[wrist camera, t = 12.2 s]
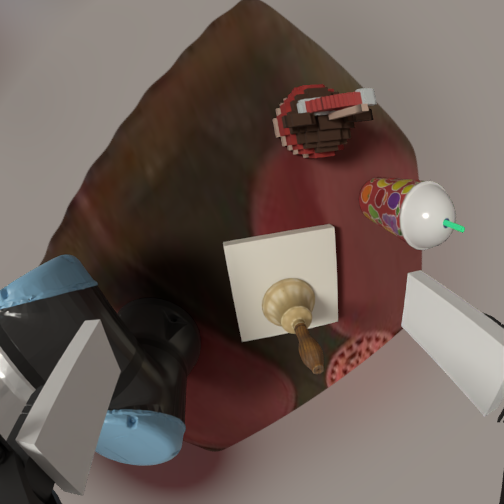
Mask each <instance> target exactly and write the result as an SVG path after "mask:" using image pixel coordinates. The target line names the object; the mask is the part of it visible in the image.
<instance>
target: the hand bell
mask: <svg viewBox="0 0 504 504" xmlns="http://www.w3.org/2000/svg"><path fill="white" fill-rule="evenodd" d="M314 305H315V294H314V291H313V289H312V288H311V286H310V285H309V284H308V283H306V282H305V281H303V280H300V279H296V278H288V279H283V280H280V281H278V282H276V283H275V284H273V285H272V286H271V287H270V288H269V289H268V290H267V291H266V293H265V295H264V297H263V300H262V311H263V314H264V316H265V317H266V318H267V320H268V321H270V322H271V323H273V324H274V325H277V326H280V327H282V328H283V329H284V330H285V331H286V332H288V333H292V334H296V335H297V337H298V339H299V353H300V356H301V359H302V361H303V362H304V364H305V365H306V366H307V367H308V368H310V369H311V370H312V372H313V373H314V374H320V373H321V372H323V370H324V356H323V351H322V349H321V347H320V345H319V344H318V342H317V341H316V340H315V339H314V338H312V337H311V336H310V334H309V332H308V329H307V328H308V327H309V326H310V324H311V322H312V311H313V309H314Z"/></svg>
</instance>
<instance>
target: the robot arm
mask: <svg viewBox="0 0 504 504" xmlns="http://www.w3.org/2000/svg"><path fill="white" fill-rule="evenodd" d="M97 285H98V283H97V282H96V281H94V280H93V279H92V277H91V276H90V275H89V273H88V272H87V271H86V269H85V268H84V267H83V265H82V264H81V262H80V261H79V260H78V259H77V258H76V257H74V256H72V255H61V256H58V257H56V258H54V259H52V260H50V261H48V262H46V263H44V264H42V265H40V266H39V267H37V268H35V269H33V270H32V271H30V272H28V273H26V274H25V275H23V276H21V277H20V278H18V279H16V280H15V281H13V282H12V283H10V284H9V285H8V286H6V287H4V288H3V289H2V290H0V504H62V503H61V501H60V499H59V497H58V495H57V494H56V493H55V491H54V490H53V487H54V483H56V484H57V485H58V486H59V487H60V488H61V489H62V490H63V491H65V492H69V493H74V494H78V495H84V491H85V487H86V483H87V478H88V475H89V471H90V468H91V464H92V460H93V457H94V453H95V451H96V452H97V453H99V454H101V455H103V456H105V457H107V458H109V459H112V460H114V461H118V462H121V463H126V464H132V465H155V464H160V463H163V462H166V461H169V460H171V459H172V458H174V457H175V456H176V455H177V454H178V453H179V451H180V449H181V446H182V441H183V434H184V432H185V429H186V427H185V403H186V386H187V377H188V375H189V374H190V372H191V370H192V369H193V367H194V366H195V364H196V363H197V361H198V358H199V355H200V347H201V337H200V332H199V329H198V327H197V325H196V323H195V321H194V320H193V319H192V317H191V316H190V315H189V314H188V313H187V312H186V311H185V310H183V309H182V308H181V307H179V306H177V305H176V304H174V303H171V302H169V301H166V300H163V299H158V298H141V299H137V300H134V301H131V302H129V303H128V304H126V305H125V306H123V307H122V308H121V309H120V310H119V312H118V313H116V312H115V310H114V309H113V308H112V306H111V305H110V303H109V302H108V300H107V299H106V298H105V296H104V295H103V293H102V292H101V290H100V289H99V287H98V286H97ZM401 326H402V327H403V328H404V329H405V330H406V331H407V332H408V333H409V334H410V335H411V337H412V338H413V339H414V340H415V341H416V342H417V343H418V344H419V345H420V346H421V347H422V348H423V349H424V350H425V351H426V352H427V353H428V354H429V356H430V357H432V359H433V360H434V361H435V362H436V363H437V364H438V365H439V366H440V367H441V368H442V369H443V371H444V372H445V373H446V374H447V375H448V376H449V377H450V378H451V379H452V380H453V382H454V383H455V384H456V385H457V386H458V387H459V388H460V389H461V390H462V391H463V393H464V394H465V395H466V396H467V397H468V398H469V400H470V401H471V402H472V403H473V404H474V405H475V406H476V408H477V409H478V410H479V411H480V412H481V413H482V414H483V416H484V417H485V416H487V415H488V414H490V413H491V412H493V411H494V410H496V409H497V408H498V407H499V405H500V403H501V401H502V399H503V397H504V325H503V324H502V325H501V323H500V322H499V321H498V320H496V319H495V318H494V317H492V316H489V315H487V314H485V313H482V312H480V311H479V310H478V309H477V308H475V307H474V306H472V305H471V304H469V303H468V302H467V301H465V300H464V299H463V298H461V297H460V296H458V295H457V294H455V293H454V292H452V291H451V290H450V289H448V288H447V287H445V286H444V285H442V284H441V283H439V282H438V281H436V280H435V279H433V278H432V277H430V276H429V275H427V274H426V273H424V272H423V271H421V270H420V271H416V272H411V273H408V277H407V286H406V295H405V303H404V311H403V318H402V324H401ZM503 416H504V409H503V411H502V412H501V414H500V416H499V417H498V421H497V422H500V421H501V419H502V418H503ZM503 422H504V421H503ZM499 504H504V473H503V482H502V491H501V497H500V503H499Z"/></svg>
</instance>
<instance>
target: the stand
mask: <svg viewBox="0 0 504 504" xmlns="http://www.w3.org/2000/svg"><path fill="white" fill-rule="evenodd" d="M223 246H224V251H225V257H226V262H227V268H228V273H229V278H230V284H231V289H232V294H233V299H234V304H235V310H236V315H237V320H238V325H239V330H240V335H241V340H242V342H244V341H250V340H255V339H261V338H266V337H271V336H276V335H281V334H285V333H288V332H286V331H285V330H284V329H283V328H282V327H280V326H277V325H274V324H273V323H271V322H270V321H268V320H267V318H266V317H265V316H264V314H263V311H262V300H263V297H264V295H265V293H266V291H267V290H268V289H269V288H270V287H271V286H272V285H273V284H275V283H276V282H278V281H280V280H283V279H288V278H296V279H300V280H303V281H305V282H306V283H308V284H309V285H310V286H311V288H312V289H313V291H314V294H315V305H314V309H313V311H312V322H311V324H310V326H309V327H308V328H313V327H317V326H321V325H325V324H329V323H334V322H338V291H337V263H336V244H335V228H334V227H333V226H332V225H330V224H327V225H321V226H315V227H309V228H303V229H297V230H291V231H285V232H279V233H273V234H267V235H261V236H255V237H250V238H244V239H238V240H233V241H227V242H223ZM308 328H307V329H308Z"/></svg>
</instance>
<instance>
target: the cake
mask: <svg viewBox="0 0 504 504" xmlns="http://www.w3.org/2000/svg"><path fill="white" fill-rule="evenodd" d="M283 100H284V103H280V108H277V109H276V114H277V118H273V124H274V129H275V135H276V138H277V137H281V141H282V146H287V148H288V150H293V154H303V158H306V157H309V158H320V157H328V156H335V151H337V150H342V149H344V146H343V144H348V141H347V139H348V138H352V137H351V131H350V128H355V127H354V122H359V121H369V120H373V115H372V110H371V109H369V108H368V106H369V105H376V104H377V103H376V98H375V93H374V89H373V88H363V89H358V90H355V92H353V93H342V94H339V92H334V89H328V87H325V86H324V85H323V84H320V85H304V86H299V87H297V88H294V89H293V90H292V93H290V94H289V95H288V98H284V99H283Z"/></svg>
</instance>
